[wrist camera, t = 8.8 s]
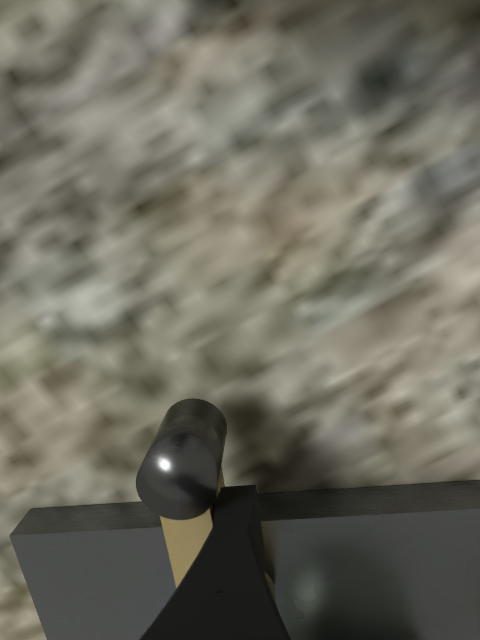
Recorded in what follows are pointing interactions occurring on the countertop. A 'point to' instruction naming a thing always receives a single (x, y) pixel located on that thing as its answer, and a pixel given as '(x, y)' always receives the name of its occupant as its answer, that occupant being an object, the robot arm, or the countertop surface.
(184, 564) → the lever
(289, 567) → the plate
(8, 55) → the countertop surface
